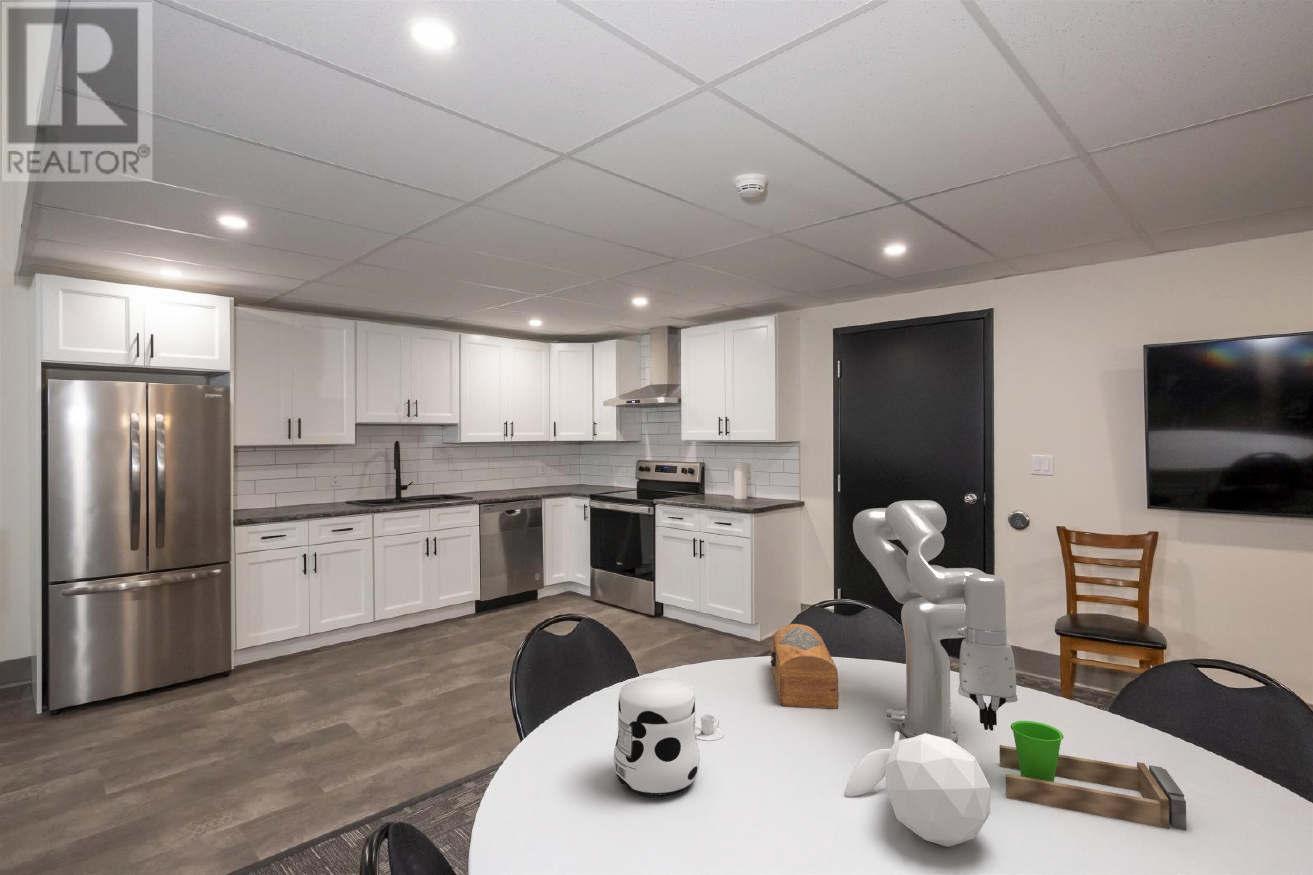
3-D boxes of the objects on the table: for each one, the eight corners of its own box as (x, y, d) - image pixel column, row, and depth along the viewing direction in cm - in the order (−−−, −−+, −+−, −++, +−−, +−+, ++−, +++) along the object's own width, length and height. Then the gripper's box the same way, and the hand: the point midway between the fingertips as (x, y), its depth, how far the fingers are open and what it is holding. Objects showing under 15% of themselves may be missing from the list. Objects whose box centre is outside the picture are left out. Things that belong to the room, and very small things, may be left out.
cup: (1072, 800, 122) (1071, 742, 122) (1020, 795, 124) (1019, 738, 124) (1053, 777, 131) (1052, 722, 131) (1004, 772, 132) (1004, 718, 133)
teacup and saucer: (682, 738, 149) (682, 720, 149) (693, 724, 156) (693, 708, 156) (718, 745, 146) (718, 726, 146) (728, 730, 153) (728, 713, 153)
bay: (1006, 797, 123) (1006, 769, 123) (999, 763, 136) (999, 738, 136) (1189, 832, 112) (1188, 801, 112) (1162, 791, 125) (1161, 763, 125)
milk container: (709, 767, 135) (709, 681, 135) (685, 811, 118) (685, 712, 119) (632, 754, 140) (632, 671, 141) (599, 794, 124) (599, 700, 124)
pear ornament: (975, 741, 103) (898, 679, 131) (864, 829, 101) (811, 748, 129) (1034, 823, 103) (945, 744, 131) (924, 912, 101) (858, 813, 129)
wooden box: (767, 668, 196) (767, 622, 197) (823, 670, 194) (822, 624, 195) (774, 707, 167) (773, 653, 167) (839, 710, 165) (838, 655, 165)
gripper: (945, 636, 131) (948, 729, 130) (1030, 644, 125) (1033, 741, 124) (945, 628, 137) (947, 715, 137) (1025, 635, 131) (1028, 726, 131)
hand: (988, 727), depth 130 cm, fingers closed
